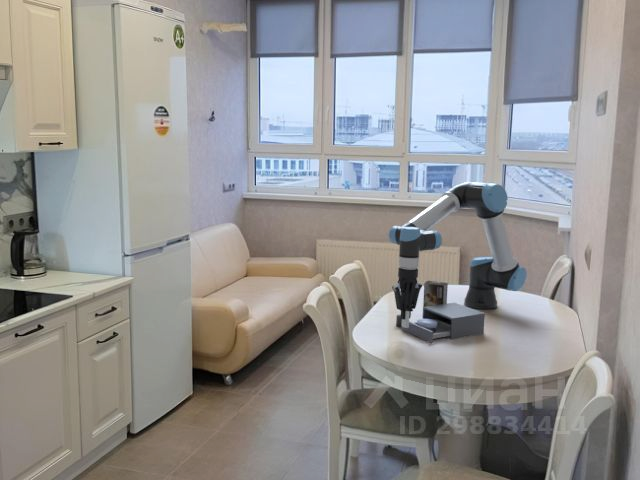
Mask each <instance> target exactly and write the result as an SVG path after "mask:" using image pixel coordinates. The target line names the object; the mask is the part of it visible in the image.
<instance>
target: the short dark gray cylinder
mask: <svg viewBox="0 0 640 480" xmlns="http://www.w3.org/2000/svg"><path fill="white" fill-rule="evenodd" d="M395 319H396V320H395V321H396V322H395V325H396V327H398V328H402V326H401V325H402V319H401V314H396V318H395Z"/></svg>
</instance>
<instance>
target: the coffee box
mask: <svg viewBox="0 0 640 480" xmlns="http://www.w3.org/2000/svg"><path fill="white" fill-rule="evenodd" d="M448 284H449V283H448V282H443V281H436V280H426V281H425V282H424V284H423V300H422V301H423V303H422V308H423V307H427V306H434V305H440V304H447V303H448Z"/></svg>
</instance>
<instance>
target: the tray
mask: <svg viewBox="0 0 640 480" xmlns="http://www.w3.org/2000/svg"><path fill="white" fill-rule="evenodd" d="M434 320H436V321H437V322H438V324H437V327H436V328H424V327H421V326H419V325H417V321H416V322H412V321H410V320H409V328H404V327H401V330H402V331H405V332H406V333H409V334H411V335H413V336H415V337H418V338H420V339H422V340H425V341H427V342H429V343H433V340H434V339H439V338H447V337H446V336H450V331H451V325H450V324H448V323H445V322H443V321H440V320H438V319H434Z"/></svg>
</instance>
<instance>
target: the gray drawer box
mask: <svg viewBox="0 0 640 480" xmlns="http://www.w3.org/2000/svg"><path fill="white" fill-rule="evenodd" d="M485 313H486V312H482V311H481V310H480V311H479V310H477V309H475V308H472V307H468V306H466V305H464V304H463V305H462V304H459V303H457V302H447V304H440V305H434V306H427V307H423V306H422V319H432V320H434V319H438V320H440V321H443V322H445V323H448V324H450V325H451V331H450V336H446V337H445V338H447V339H450V340H457V339H460V338H466V337H467V338H468V337H471V336H477V335H482V334H484V330H485V320H486V319H485V317H486V316H485V315H486V314H485Z"/></svg>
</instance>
